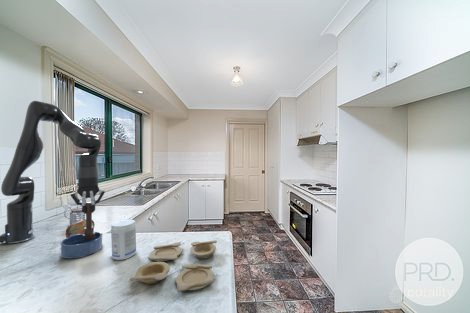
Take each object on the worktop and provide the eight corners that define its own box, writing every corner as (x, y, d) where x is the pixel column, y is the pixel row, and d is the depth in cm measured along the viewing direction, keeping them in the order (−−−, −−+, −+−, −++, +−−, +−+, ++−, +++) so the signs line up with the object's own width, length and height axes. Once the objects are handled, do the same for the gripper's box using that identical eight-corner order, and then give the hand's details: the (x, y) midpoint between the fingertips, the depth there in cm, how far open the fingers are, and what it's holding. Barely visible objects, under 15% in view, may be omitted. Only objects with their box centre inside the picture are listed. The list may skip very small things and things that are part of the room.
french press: (90, 223, 130) (89, 185, 130) (67, 229, 121) (67, 188, 120) (83, 221, 136) (82, 184, 135) (61, 226, 126) (61, 186, 126)
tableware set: (156, 246, 98) (156, 238, 98) (217, 245, 99) (217, 236, 99) (119, 298, 63) (119, 285, 63) (213, 294, 64) (213, 281, 64)
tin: (69, 242, 102) (68, 226, 102) (64, 242, 103) (63, 225, 103) (95, 231, 117) (94, 217, 117) (90, 231, 118) (90, 216, 118)
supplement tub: (136, 248, 96) (136, 217, 96) (136, 257, 87) (135, 224, 87) (112, 252, 92) (112, 220, 92) (110, 262, 83) (109, 227, 83)
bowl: (56, 262, 83) (56, 248, 83) (65, 248, 97) (65, 235, 97) (100, 254, 91) (100, 240, 91) (103, 241, 104) (103, 229, 104)
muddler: (82, 240, 92) (82, 203, 92) (84, 237, 96) (83, 201, 96) (94, 238, 94) (93, 202, 94) (95, 235, 98) (94, 200, 98)
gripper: (106, 174, 101) (106, 209, 101) (71, 176, 94) (72, 213, 95) (105, 176, 95) (105, 212, 95) (67, 178, 88) (68, 217, 88)
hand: (88, 212), depth 95 cm, fingers closed on muddler, 2 cm apart
